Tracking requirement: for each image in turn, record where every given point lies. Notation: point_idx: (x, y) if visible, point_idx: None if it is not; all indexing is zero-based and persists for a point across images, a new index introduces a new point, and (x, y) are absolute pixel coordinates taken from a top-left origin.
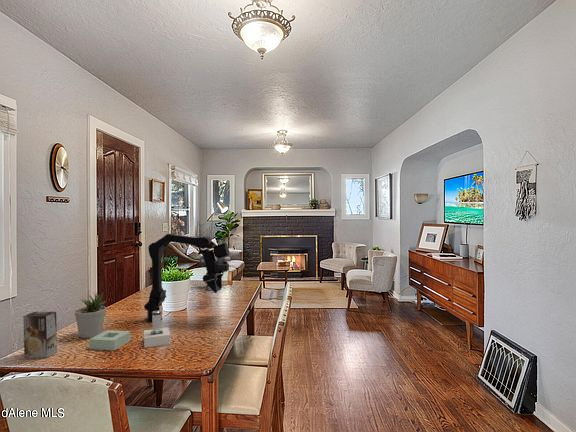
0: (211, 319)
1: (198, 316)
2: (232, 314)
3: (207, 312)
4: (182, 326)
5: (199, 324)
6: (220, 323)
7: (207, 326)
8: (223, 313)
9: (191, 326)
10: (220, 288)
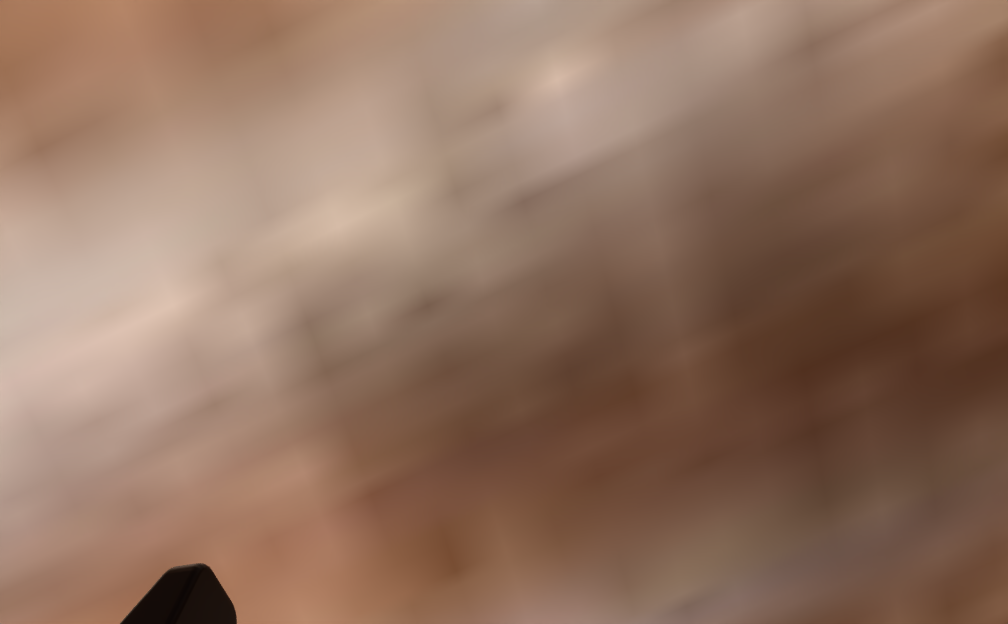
0: (520, 359)
1: (428, 616)
2: (110, 116)
3: None
4: (962, 616)
5: (827, 427)
6: (707, 96)
7: (917, 252)
8: (125, 309)
9: (947, 498)
10: (225, 598)
